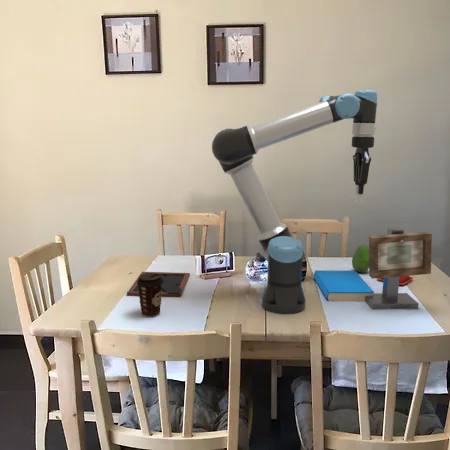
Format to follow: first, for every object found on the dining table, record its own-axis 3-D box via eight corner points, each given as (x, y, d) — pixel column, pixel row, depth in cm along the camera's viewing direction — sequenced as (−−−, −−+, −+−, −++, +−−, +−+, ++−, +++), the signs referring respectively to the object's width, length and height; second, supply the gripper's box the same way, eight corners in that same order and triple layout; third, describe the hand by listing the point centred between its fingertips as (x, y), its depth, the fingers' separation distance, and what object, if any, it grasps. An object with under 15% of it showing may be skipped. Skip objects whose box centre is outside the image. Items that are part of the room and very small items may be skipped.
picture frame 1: (181, 299, 173) (189, 276, 197) (181, 293, 172) (189, 272, 197) (126, 297, 174) (142, 275, 198) (126, 292, 174) (142, 271, 198)
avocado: (372, 275, 199) (374, 247, 197) (353, 274, 199) (355, 247, 197) (367, 269, 207) (369, 242, 205) (349, 269, 207) (350, 242, 205)
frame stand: (372, 309, 163) (378, 232, 157) (362, 298, 173) (368, 226, 167) (418, 308, 164) (425, 232, 158) (406, 298, 173) (413, 226, 167)
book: (354, 270, 194) (375, 291, 170) (354, 280, 195) (374, 302, 170) (313, 270, 194) (327, 291, 169) (312, 280, 195) (326, 302, 170)
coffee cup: (165, 308, 162) (164, 272, 160) (163, 318, 154) (162, 280, 152) (139, 308, 162) (138, 272, 159) (136, 318, 154) (134, 280, 151)
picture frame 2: (372, 279, 159) (372, 238, 156) (369, 275, 163) (368, 236, 160) (431, 274, 160) (432, 234, 157) (426, 271, 163) (427, 231, 160)
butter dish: (374, 281, 193) (376, 260, 191) (387, 274, 201) (389, 255, 199) (402, 287, 185) (404, 267, 183) (414, 281, 193) (416, 260, 191)
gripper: (380, 136, 160) (375, 205, 165) (367, 135, 172) (363, 199, 178) (358, 136, 159) (353, 205, 165) (347, 135, 172) (343, 199, 177)
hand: (358, 202), depth 171 cm, fingers closed
